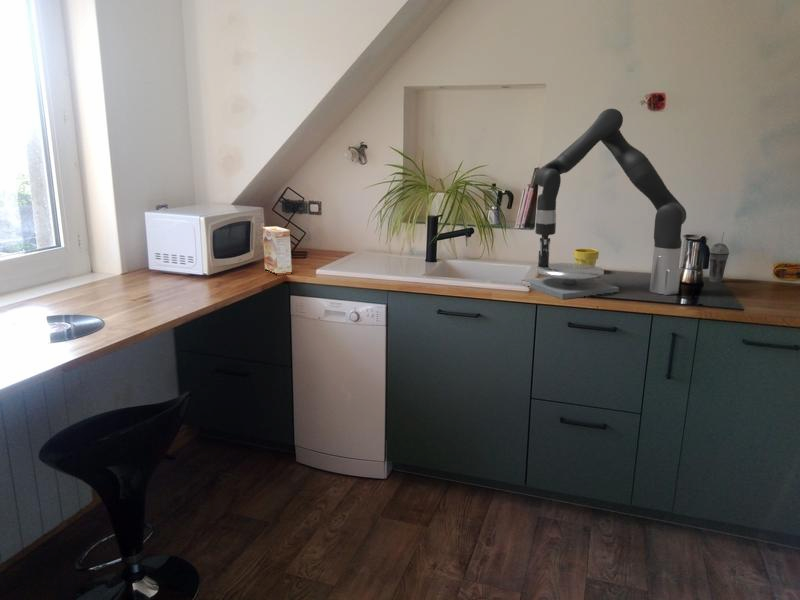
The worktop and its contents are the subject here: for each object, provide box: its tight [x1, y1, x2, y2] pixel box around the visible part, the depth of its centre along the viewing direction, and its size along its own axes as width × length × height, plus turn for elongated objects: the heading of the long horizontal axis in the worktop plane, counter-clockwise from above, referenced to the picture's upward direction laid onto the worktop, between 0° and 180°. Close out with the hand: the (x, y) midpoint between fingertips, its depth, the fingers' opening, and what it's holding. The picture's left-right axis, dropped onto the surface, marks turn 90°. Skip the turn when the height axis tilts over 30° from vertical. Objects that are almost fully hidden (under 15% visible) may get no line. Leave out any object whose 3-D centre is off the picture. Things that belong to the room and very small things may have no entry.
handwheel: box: [536, 250, 605, 280], centre depth 232 cm, size 25×25×8 cm
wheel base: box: [520, 276, 620, 300], centre depth 234 cm, size 26×26×6 cm
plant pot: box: [573, 248, 600, 266], centre depth 264 cm, size 10×10×10 cm
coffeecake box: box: [262, 225, 293, 273], centre depth 264 cm, size 15×7×20 cm, turn 33°
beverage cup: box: [708, 232, 730, 283], centre depth 245 cm, size 7×7×20 cm
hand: (544, 262), depth 236 cm, fingers open, 8 cm apart
